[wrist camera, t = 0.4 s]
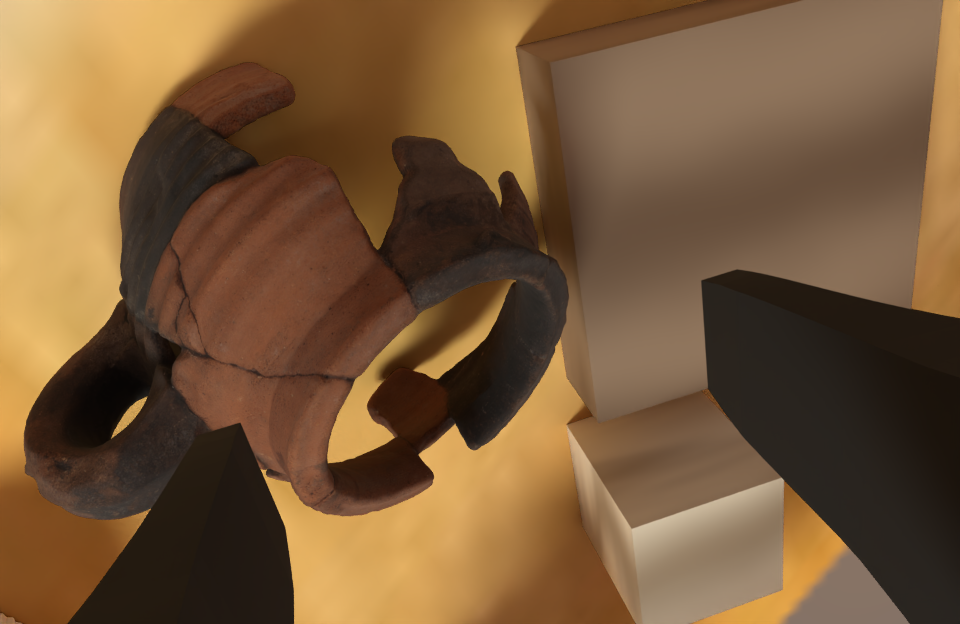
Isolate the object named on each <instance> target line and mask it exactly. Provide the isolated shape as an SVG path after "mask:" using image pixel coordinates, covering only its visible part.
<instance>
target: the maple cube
mask: <svg viewBox="0 0 960 624" xmlns="http://www.w3.org/2000/svg"><path fill="white" fill-rule="evenodd" d="M567 431H568V438H569V444H570V450H571V456H572V463H573V469H574V475H575V481H576V487H577V494H578V500H579V506H580V512H581V519H582V525H583V528H584V530H585V532H586V534H587V535H588V537H589V539H590V541H591V543H592V545H593V546H594V548H595V550H596V552H597V554H598V556H599V557H600V559H601V561H602V563H603V565H604V566H605V568H606V570H607V572H608V574H609V576H610V577H611V579H612V581H613V583H614V585H615V587H616V588H617V590H618V592H619V594H620V596H621V598H622V599H623V601H624V603H625V605H626V607H627V609H628V610H629V612H630V614H631V616H632V618H633V620H634V621H635V623H636V624H690V623H693V622H696V621H699V620H701V619H704V618H707V617H710V616H712V615H715V614H718V613H721V612H723V611H726V610H729V609H732V608H734V607H737V606H740V605H743V604H745V603H748V602H751V601H754V600H756V599H759V598H762V597H765V596H767V595H770V594H773V593H775V592H778V591H781V590H783V520H784V480H783V479H782V478H781V477H780V476H779V474H778V473H777V472H776V471H775V470H774V469H773V468H772V467H771V466H770V465H769V464H768V463H767V462H766V461H765V460H764V459H763V458H762V457H761V456H760V455H759V454H758V453H757V451H756V450H755V449H754V448H753V447H752V446H751V445H750V444H749V443H748V442H747V441H746V440H745V439H744V438H743V436H742V435H741V434H740V433H739V431H738V430H737V429H736V427H735V426H734V425H733V423H732V422H731V421H730V420H729V419H728V418H727V417H726V416H725V415H724V414H723V413H722V412H721V411H720V410H719V409H718V408H717V406H716V405H715V404H714V403H713V402H712V401H711V400H710V399H709V398H708V397H707V396H706V395H705V394H704V393H703V392H702V391H699V392H695V393H692V394H689V395H686V396H683V397H680V398H677V399H674V400H670V401H667V402H664V403H661V404H658V405H655V406H652V407H648V408H645V409H642V410H639V411H636V412H633V413H630V414H626V415H623V416H620V417H617V418H614V419H611V420H608V421H605V422H601V423H598V422H597V421H596V419H595V418H594V416H592V417H589V418H585V419H582V420H579V421H576V422H573V423H570V424H567Z"/></svg>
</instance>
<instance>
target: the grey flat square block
mask: <svg viewBox="0 0 960 624" xmlns="http://www.w3.org/2000/svg"><path fill="white" fill-rule="evenodd" d="M942 5H943V0H707V1H703V2H698V3H694V4H690V5H686V6H682V7H678V8H674V9H670V10H665V11H661V12H657V13H653V14H649V15H645V16H641V17H637V18H632V19H628V20H624V21H620V22H616V23H612V24H608V25H604V26H599V27H595V28H591V29H587V30H583V31H579V32H575V33H571V34H566V35H562V36H558V37H554V38H550V39H546V40H542V41H538V42H534V43H529V44H525V45H521V46H517V47H516V51H517V58H518V64H519V71H520V77H521V84H522V90H523V97H524V103H525V110H526V116H527V123H528V129H529V136H530V142H531V149H532V155H533V162H534V168H535V175H536V181H537V188H538V194H539V201H540V207H541V214H542V220H543V227H544V233H545V240H546V246H547V253H548V255H549V256H551V257H553V258H555V259H556V260H557V262H558V264H559V266H560V268H561V269H562V270H563V272H564V273H565V277H566V278H567V285H568V293H569V300H568V306H567V311H566V318H567V321H566V324H565V325H564V328H563V331H562V334H561V344H562V350H563V357H564V363H565V370H566V376H567V379H568V380H569V382H570V383H571V384H572V386H573V387H574V389H575V390H576V392H577V393H578V395H579V396H580V397H581V399H582V400H583V402H584V403H585V405H586V406H587V408H588V409H589V410H590V412H591V413H592V415H593V416H594V418H595V419H596V421H597V422H598V423H601V422H605V421H608V420H611V419H614V418H617V417H620V416H623V415H626V414H630V413H633V412H636V411H639V410H642V409H645V408H648V407H652V406H655V405H658V404H661V403H664V402H667V401H670V400H674V399H677V398H680V397H683V396H686V395H689V394H692V393H695V392H699V391H702V390H705V389H708V382H707V366H706V350H705V334H704V319H703V303H702V287H701V280H704V279H707V278H710V277H714V276H717V275H720V274H723V273H727V272H730V271H733V270H736V269H738V270H745V271H752V272H757V273H762V274H767V275H771V276H775V277H780V278H784V279H788V280H792V281H796V282H800V283H804V284H808V285H812V286H816V287H820V288H824V289H828V290H832V291H836V292H839V293H844V294H848V295H852V296H856V297H860V298H864V299H868V300H872V301H877V302H881V303H886V304H890V305H895V306H899V307H904V308H909V309H911V305H912V295H913V285H914V276H915V266H916V256H917V247H918V237H919V227H920V218H921V208H922V198H923V189H924V179H925V169H926V160H927V150H928V140H929V131H930V121H931V111H932V101H933V92H934V82H935V72H936V63H937V53H938V43H939V34H940V24H941V14H942Z"/></svg>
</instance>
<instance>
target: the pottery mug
mask: <svg viewBox="0 0 960 624" xmlns="http://www.w3.org/2000/svg"><path fill="white" fill-rule="evenodd" d="M294 100H295V91H294V88H293V86H292V84H291V83H290V81H289V80H288V79H286V78H285V77H284V76H282V75H280V74H277V73H272V72H270V71H269V70H267V69H265V68H263V67H261V66H260V65H258V64H255V63H242V64H240V65H237V66H234V67H230V68H227V69H224V70H222V71H219V72H217V73H216V74H213V75H211V76H210V77H208V78H206V79H204V80H202V81H200V82H199V83H197V84H196V85H194V86H193V87H192V88H190V89H189V90H188V91H186V92H185V93H184V94H183V95H181V96H180V97H178V98H177V99H176V100H175V102H174V103H173V104H172V105H170V106H169V107H167V108H165V109H164V110H163V111H162V112H161V113H160V114H159V115H158V117H157V118H156V119H155V120H154V121H153V122H152V124H151V125H150V127H149V128H148V130H147V131H146V132H145V133H144V135H143V136H142V137H141V138H140V139H139V141H138V143H137V145H136V147H135V149H134V152H133V154H132V157H131V159H130V161H129V163H128V166H127V168H126V170H125V174H124V176H123V181H122V185H121V190H120V200H119V208H120V220H121V229H122V254H121V264H120V270H121V276H122V281H121V284H120V287H119V290H120V294H121V295H122V297H123V299H122V300H121V301H119V303H118V304H117V305H116V308H115V310H114V312H113V314H112V315H111V317H110V319H109V320H108V321H107V323H106V324H105V325H104V327H103V328H101V329H100V331H99V332H98V333H97V334H96V335H95V336H94V337H93V338H92V339H91V340H90V341H89V342H88V343H87V344H86V345H85V346H84V347H83V348H82V349H80V350H79V351H78V352H76V353H75V354H74V355H73V356H72V357H71V358H70V359H69V360H68V361H67V362H66V363H65V364H64V365H63V366H62V367H61V368H60V369H59V370H58V371H57V373H56V374H55V375H54V376H53V377H52V378H51V379H50V381H49V382H48V383H47V384H46V386H45V387H44V388H43V390H42V392H41V393H40V395H39V397H38V398H37V400H36V401H35V403H34V405H33V407H32V409H31V411H30V413H29V415H28V418H27V421H26V426H25V431H24V451H25V456H26V465H25V473H26V474H27V475H30V476H31V477H33V478H34V479H35V480H36V482H37V485H38V490H39V492H40V494H41V495H42V496H43V497H44V498H45V499H47V500H49V501H50V502H52V503H54V504H56V505H58V506H61V507H62V508H63V509H65V510H66V511H68V512H70V513H72V514H74V515H77V516H80V517H84V518H92V519H98V520H111V519H120V518H125V517H129V516H132V515H135V514H139V513H141V512H144V511H146V510H149V509H151V508H152V507H153V505H154V504H155V502H156V501H157V499H158V498H159V496H160V494H161V493H162V491H163V490H164V488H165V487H166V485H167V483H168V482H169V480H170V479H171V477H172V475H173V474H174V472H175V470H176V469H177V467H178V466H179V464H180V462H181V461H182V459H183V457H184V456H185V454H186V453H187V451H188V449H189V448H190V446H191V445H192V443H193V442H194V440H195V439H196V437H197V436H198V435H201V434H204V433H207V432H210V431H214V430H217V429H220V428H223V427H227V426H230V425H233V424H236V423H241V425H242V427H243V430H244V432H245V434H246V437H247V439H248V441H249V444H250V446H251V448H252V451H253V453H254V455H255V458H256V460H257V462H258V465H259V467H260V469H263V470H266V469H267V471H266V475H267V476H268V477H270V478H274V479H276V480H281V481H287V482H291V485H292V488H293V489H294V491H295V493H296V495H298V496H299V499H300V500H301V501H302V502H303V503H304V504H305V505H306V506H309V507H311V508H313V509H314V510H316V511H321V512H322V513H324V514H332V515H340V516H354V515H364V514H367V513H369V512H372V511H380V510H382V509H385V508H388V507H391V506H393V505H396V504H398V503H401V502H403V501H405V500H408V499H410V498H412V497H414V496H416V495H418V494H419V493H421V492H423V491H424V490H426V489H427V488H429V487H430V486H431V485H432V483H433V479H434V474H433V472H432V471H431V470H430V468H429V467H428V466H427V465H426V464H425V463H424V462H423V461H422V460H421V458H420V457H419V455H418V454H419V453H421V452H422V451H423V450H425V449H426V448H428V447H430V446H431V445H432V444H433V443H435V442H436V441H437V440H438V439H439V438H440V437H441V436H442V435H444V434H445V433H446V432H447V431H448V430H449V429H450V428H451V427H452V426H453V425H454V424H455V423H456V426H457V427H458V429H459V432H460V434H461V435H462V437H463V438H464V440H465V442H466V444H467V446H468V447H469V448H470V449H472V450H477V449H479V448H480V447H481V446H483V445H485V444H487V443H488V442H490V441H491V440H492V439H493V438H495V437H496V436H497V434H498V433H499V432H500V431H501V430H502V429H503V428H504V427H505V426H506V425H507V424H508V422H509V421H510V420H511V419H512V418H513V417H514V416H515V415H516V413H517V412H518V410H519V409H520V408H521V407H522V406H523V404H524V403H525V402H526V401H527V400H528V398H529V397H530V395H531V394H532V392H533V390H534V389H535V387H536V386H537V384H538V383H539V382H540V380H541V378H542V376H543V375H544V373H545V371H546V370H547V368H548V366H549V363H550V361H551V358H552V356H553V354H554V353H555V346H556V344H557V343H558V341H559V339H560V337H561V334H562V331H563V328H564V325H565V324H566V321H567V318H566V311H567V306H568V300H569V293H568V285H567V278H566V277H565V273H564V272H563V270H562V269H561V268H560V266H559V264H558V262H557V260H556V259H555V258H553V257H551V256H549V255H546V254H544V253H543V252H541V251H539V247H538V236H537V232H536V230H535V227H534V223H533V218H532V215H531V212H530V209H529V205H528V202H527V200H526V198H525V195H524V194H523V192H522V190H521V188H520V186H519V184H518V182H517V180H516V178H515V176H514V174H513V173H512V172H510V171H505V172H503V173H502V174H501V176H500V177H499V180H498V182H499V186H500V190H501V194H502V203H501V207H499V204H498V201H497V199H496V196H495V194H494V193H493V192H492V191H491V190H490V189H489V187H488V185H487V184H486V182H485V180H484V179H483V178H482V177H481V176H480V175H478V174H477V173H476V172H474V171H473V170H471V169H469V168H467V167H466V166H464V165H463V164H461V163H460V162H459V161H458V159H457V158H456V156H455V154H454V153H453V151H452V150H451V148H450V147H449V146H448V145H447V144H446V143H444V142H442V141H440V140H437V139H432V138H425V137H416V136H403V137H399V138H397V139H395V140H394V142H393V144H392V154H393V157H394V160H395V162H396V164H397V167H398V169H399V171H400V172H401V174H402V175H403V179H402V182H401V183H400V185H399V188H398V197H397V202H396V207H395V211H394V216H393V220H392V223H391V225H390V227H389V228H388V230H387V232H386V235H385V238H384V241H383V243H382V245H381V248H380V249H379V250H376V248H375V247H374V246H373V244H372V242H371V240H370V237H369V235H368V233H367V231H366V229H365V228H364V226H363V225H362V223H361V222H360V221H359V219H358V218H357V216H356V214H355V213H354V210H353V208H352V207H351V205H350V203H349V201H348V199H347V197H346V196H345V194H344V192H343V190H342V188H341V186H340V183H339V181H338V179H337V177H336V175H335V173H334V172H333V170H332V169H331V168H330V167H328V166H326V165H321V164H319V163H317V162H316V161H314V160H312V159H309V158H306V157H299V156H294V155H291V156H286V157H283V158H281V159H278V160H276V161H272V162H270V163H268V164H267V165H264V166H260V165H259V164H258V162H257V161H256V159H255V158H254V157H253V156H252V155H250V154H249V153H247V152H245V151H243V150H241V149H239V148H237V147H235V146H233V145H231V144H229V143H228V142H226V141H225V140H224V139H226V138H227V137H228V136H230V135H232V134H234V133H235V132H236V131H238V130H240V129H241V128H242V127H244V126H245V125H247V124H249V123H252V122H253V121H255V120H256V119H258V118H261V117H263V116H266V115H268V114H270V113H272V112H274V111H277V110H279V109H281V108H284V107H286V106H289V105H291V104H292V103H293V102H294ZM502 279H514V280H516V279H517V280H516V282H514V283H512V285H511V287H510V289H509V291H508V293H507V295H506V298H505V301H504V304H503V306H502V309H501V311H500V313H499V316H498V318H497V320H496V322H495V324H494V325H493V327H492V329H491V331H490V333H489V335H488V336H487V338H486V339H485V340H484V341H483V342H482V343H480V345H479V346H478V347H477V348H476V349H475V350H474V351H473V352H471V353H470V354H469V355H468V356H466V357H465V358H464V359H462V360H461V361H460V362H458V363H457V364H456V365H455V366H454V367H453V368H452V369H450V370H449V371H447V372H445V373H444V374H443V375H442V376H441V377H440V378H439V379H433V378H430V377H429V376H427V375H426V374H423V373H419V372H415V371H413V370H410V369H407V368H398V369H396V370H395V371H394V372H393V373H391V375H390V376H389V377H388V378H387V379H386V380H385V381H384V382H383V383H382V384H381V385H380V386H379V387H378V389H377V390H376V391H375V392H374V394H373V395H372V396H371V398H370V400H369V401H368V404H367V409H368V412H369V414H370V416H371V418H372V419H373V420H374V421H375V422H376V423H377V424H381V425H383V426H384V427H386V428H387V429H388V430H389V431H390V432H391V433H392V434H393V436H394V437H395V438H394V439H392V440H391V441H389V442H388V443H387V444H385V445H383V446H380V447H378V448H376V449H374V450H372V451H370V452H367V453H365V454H363V455H360V456H358V457H356V458H354V459H348V460H345V461H343V462H337V463H328V462H327V452H328V443H329V439H330V436H331V432H332V428H333V426H334V423H335V421H336V418H337V415H338V413H339V411H340V409H341V407H342V405H343V404H344V402H345V400H346V398H347V396H348V394H349V393H350V391H351V389H352V386H353V384H354V381H355V379H356V378H357V377H358V376H360V375H361V374H362V373H363V372H364V371H365V370H366V369H367V367H368V366H369V365H370V363H371V362H372V361H373V360H374V358H375V357H376V356H377V355H378V354H379V353H380V352H381V351H382V350H383V349H384V348H385V347H386V346H387V345H388V344H389V343H390V342H391V341H392V340H393V339H394V338H395V337H396V336H397V335H398V334H399V333H400V332H401V331H402V330H403V329H404V328H405V327H406V326H408V325H409V324H410V323H412V322H413V321H414V320H415V319H416V317H417V316H418V314H419V313H421V312H422V311H423V310H425V309H428V308H430V307H433V306H434V305H436V304H438V303H440V302H442V301H444V300H446V299H447V298H449V297H451V296H453V295H455V294H456V293H458V292H460V291H462V290H464V289H466V288H468V287H471V286H474V285H477V284H480V283H483V282H489V281H495V280H502ZM147 396H148V397H147ZM145 397H147V400H146V402H145V404H144V406H143V407H142V409H141V411H140V412H139V413H138V415H137V416H136V418H135V419H134V420H133V421H132V422H131V423H130V424H129V425H128V426H127V427H126V428H125V429H124V430H122V431H121V432H120V433H119V434H117V435H116V436H115V437H113V438H112V439H111V437H112V435H113V432H114V430H115V428H116V427H117V425H118V423H119V422H120V420H121V418H122V417H123V415H124V414H125V412H126V411H127V410H128V409H129V407H130V406H132V405H133V404H134V403H135V402H136V401H138V400H140V399H142V398H145Z"/></svg>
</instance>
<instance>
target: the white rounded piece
mask: <svg viewBox="0 0 960 624" xmlns="http://www.w3.org/2000/svg"><path fill="white" fill-rule="evenodd" d="M0 624H23V623H19V622H15V619H14V618H13V617H6V616H5V615H4V614H3V613H0Z"/></svg>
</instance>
